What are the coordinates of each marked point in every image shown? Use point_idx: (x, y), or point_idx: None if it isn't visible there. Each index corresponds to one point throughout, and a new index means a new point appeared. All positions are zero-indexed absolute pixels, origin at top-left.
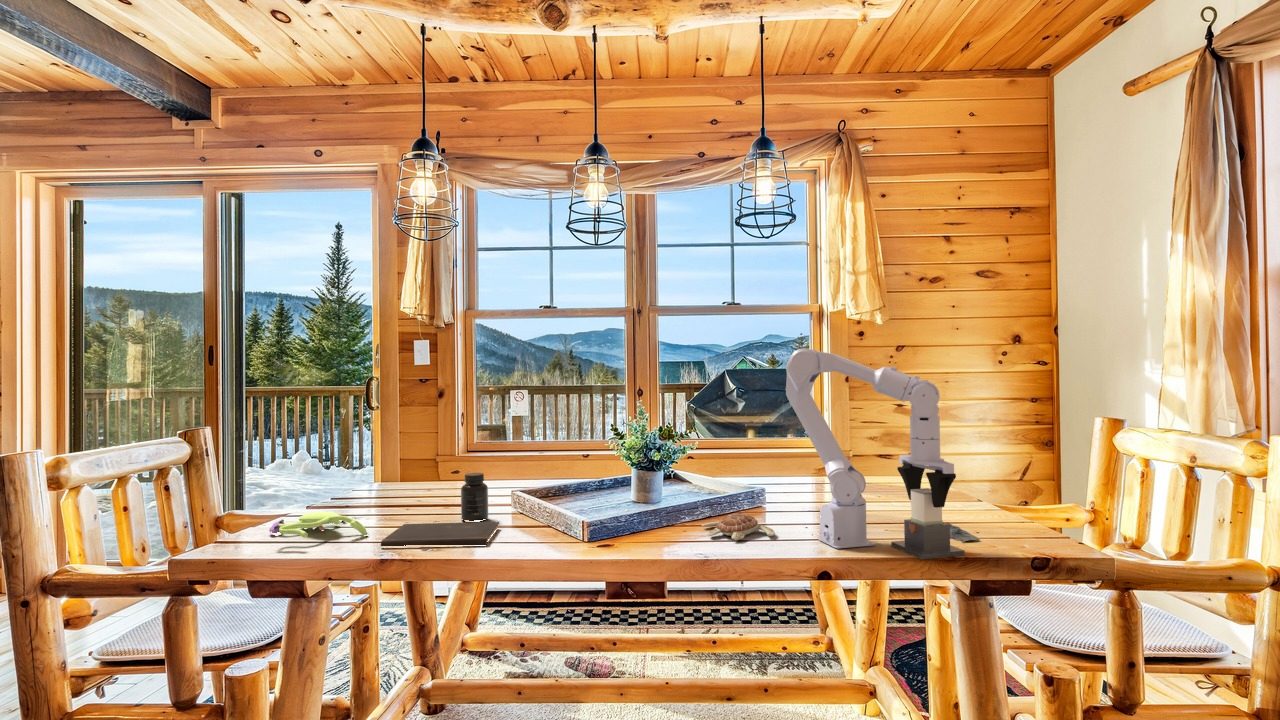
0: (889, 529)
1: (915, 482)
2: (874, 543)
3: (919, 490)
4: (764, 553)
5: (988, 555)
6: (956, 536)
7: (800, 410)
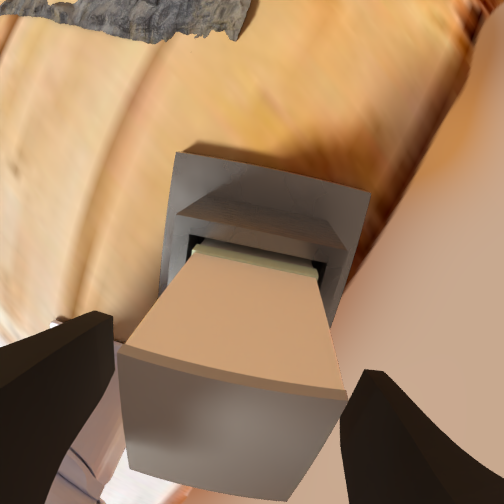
0: (13, 154)
1: (39, 422)
2: None
3: (185, 466)
4: (137, 494)
5: (403, 115)
6: (180, 14)
7: None
